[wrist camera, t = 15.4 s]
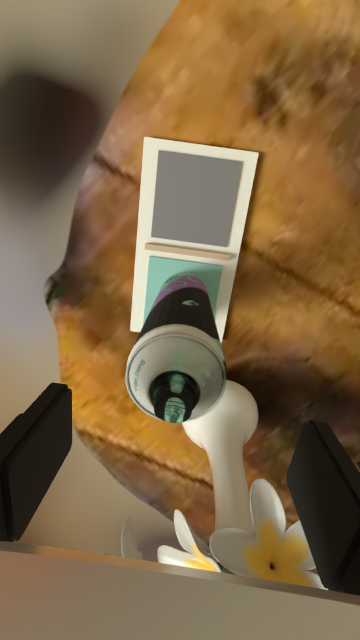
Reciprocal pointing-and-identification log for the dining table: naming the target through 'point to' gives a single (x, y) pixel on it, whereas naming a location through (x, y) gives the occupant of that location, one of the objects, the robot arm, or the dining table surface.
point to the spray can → (178, 354)
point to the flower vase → (236, 507)
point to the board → (190, 220)
